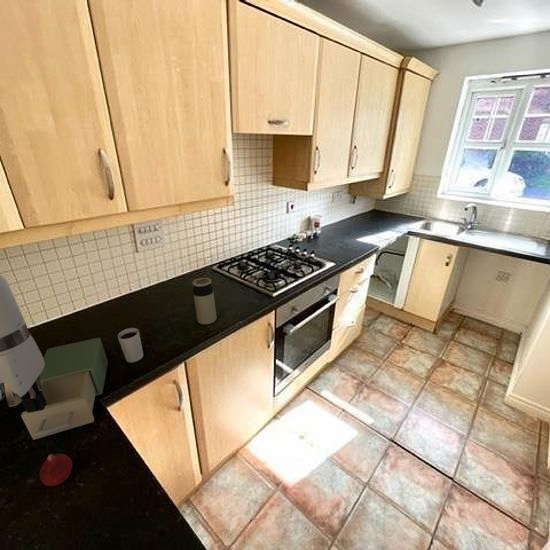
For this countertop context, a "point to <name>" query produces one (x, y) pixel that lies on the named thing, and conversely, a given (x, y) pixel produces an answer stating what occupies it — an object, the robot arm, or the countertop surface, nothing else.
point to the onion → (55, 469)
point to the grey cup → (131, 344)
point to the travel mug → (204, 301)
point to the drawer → (63, 405)
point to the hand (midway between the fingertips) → (37, 408)
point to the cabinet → (76, 362)
